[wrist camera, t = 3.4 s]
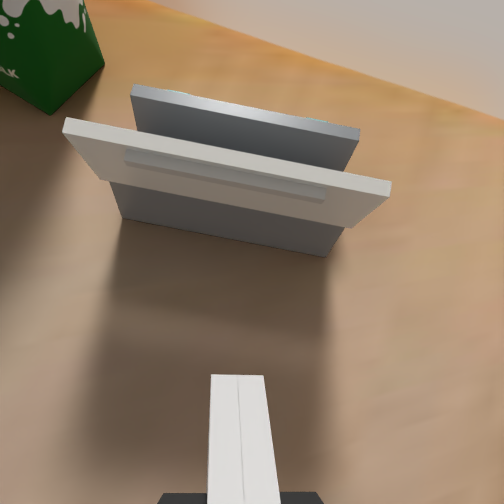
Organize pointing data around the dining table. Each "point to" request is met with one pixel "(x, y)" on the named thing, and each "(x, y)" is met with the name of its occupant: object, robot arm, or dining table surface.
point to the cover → (225, 175)
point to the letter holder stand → (244, 140)
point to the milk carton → (46, 50)
